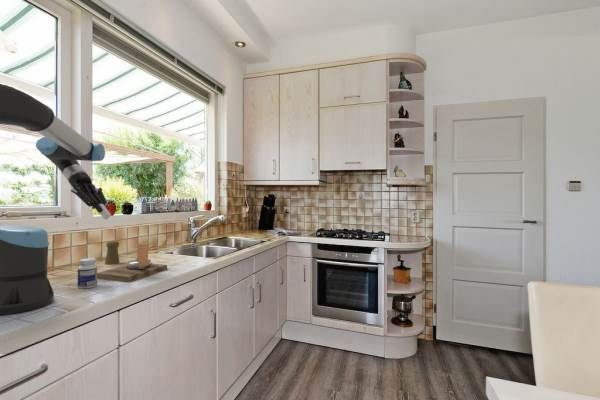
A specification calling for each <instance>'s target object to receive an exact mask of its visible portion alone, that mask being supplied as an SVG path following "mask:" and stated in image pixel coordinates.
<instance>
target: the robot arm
mask: <svg viewBox="0 0 600 400" xmlns="http://www.w3.org/2000/svg"><path fill="white" fill-rule="evenodd" d="M0 125H4V126H5V125H7V126H13V127H14V126H16V127H20V128H24V129H25V130H27V131H29V132H33V133H38V134H40V135H41V137H39V138H38V139H36V141H35V147H36V149H37V150H38V151H39V152H40V154H41V155H43V156H44V157H45V158H47V159H48V160H49V161H50V162H51V163H53V165H55V167H57V169H58V170H59V171H60V173H61V174H62V175H63V176H64V178H65V179H66V180H67V182H68V183H69V184H70V186H71V190H70V192H71V193H73V194H74V195H76V196H77V198H79V199H80V200H81V201H82V202H83V203H84V204H85V205H86V206H87V207H89V208H90V207H91V209H93V210H96V212H98V213H99V214H100V216H101V217H102V218H103V220H108V219H109V218H110V217H111V216H112V214H111V212H110V211H109V209H108V208H107V207H106V205H107V204H108V201H107V199H106V197H105V195H104V193H103V188H102V187H99V188H97V187H96V186H95V185H94V183H92V181H93V180H92V178H91V177H90V176H89V174H88V173H87V171H86V170H85V169H84V168H83V166H82V165H81V164H80V163H79V161H87V162H88V161H90V162H101V161H103V160H104V159H105V156H106V149H105V146H104V145H103V143H98V142H97V143H96V142H91V141H89V139H86V138H85V137H84V136H83V135H81V134H80V133H79V132H77V131H76V130H75V129H73V128H72V127H71V126H70V125H68V124H67V123H65V122H64V121H63V120H61V119H60V118H59V117H58V116H56V115H55V112H54V110H53V109H52V108H51V107H50V106H49V105H48V104H46V103H44V102H43V101H41V99H38V98H37V97H35V96H33V95H32V94H30V93H28V92H26V91H24V90H23V89H19V88H18V87H16V86H13V85H9V84H7V83H4V82H3V83H2V82H0ZM49 244H50V242H49V234H48V231H47V230H45V228H41V227H37V226H28V225H11V224H10V225H9V224H8V225H0V316H2V315H3V316H4V315H13V314H14V315H15V314H21V313H25V312H28V311H29V312H30V311H35V310H37V309H39V308H44V307H46V306H48V305H50V304H52V303H53V302H54V300H55V292H54V290H53V288H52V285H51V283H50V280H49V278H48V261H49V259H48V258H49Z"/></svg>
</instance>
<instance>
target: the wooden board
mask: <svg viewBox="0 0 600 400" xmlns="http://www.w3.org/2000/svg"><path fill="white" fill-rule="evenodd" d="M166 270H168V265H167V264H161V263H153V262H151V266H150V267H148V268H144V269H128V268H127V264H126V265H122V266H119V267H115V268H110V269H106V270H102V271H99V272H97V280H103V281H104V280H106V281H114V282H115V281H116V282H123V283H129V282H133V281H135V280H139V279H142V278H144V277H148V276H151V275H153V274H157V273H160V272H163V271H166Z"/></svg>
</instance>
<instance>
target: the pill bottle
mask: <svg viewBox="0 0 600 400" xmlns="http://www.w3.org/2000/svg"><path fill="white" fill-rule="evenodd" d="M96 260H97V259H96V258H95V257H88V258H82V259H80V260H79V264H80V265H79V266H78V267H77V288H78V289H82V290H84V289H92V288H94V287H96V286H97V285H98V279H97V273H98V265H97V264H96V262H97V261H96Z"/></svg>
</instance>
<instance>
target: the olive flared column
mask: <svg viewBox="0 0 600 400" xmlns="http://www.w3.org/2000/svg"><path fill="white" fill-rule="evenodd" d="M105 246H106V248H107V250H106V254H105V255H106V256H105V260H104V261H105V262H104V265H107V266H108V265H110V266H111V265H112V266H113V265H118V264H120V256H119V249H118V248H119V246H120V243H119V241H118V240H110V241H109V240H108V241H107V242H106V245H105Z"/></svg>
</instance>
